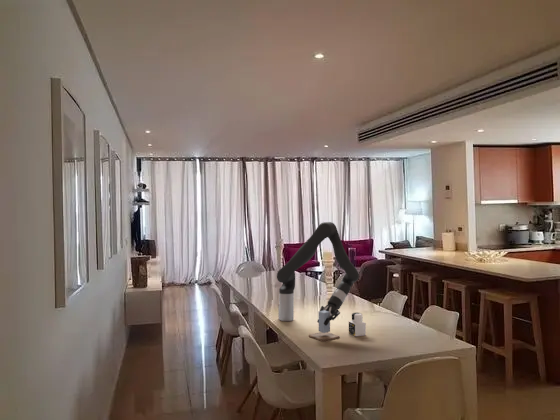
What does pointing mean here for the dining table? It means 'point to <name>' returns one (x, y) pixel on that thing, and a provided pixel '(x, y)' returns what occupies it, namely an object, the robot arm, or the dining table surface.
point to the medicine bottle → (357, 325)
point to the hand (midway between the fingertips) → (321, 323)
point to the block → (322, 318)
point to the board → (324, 336)
